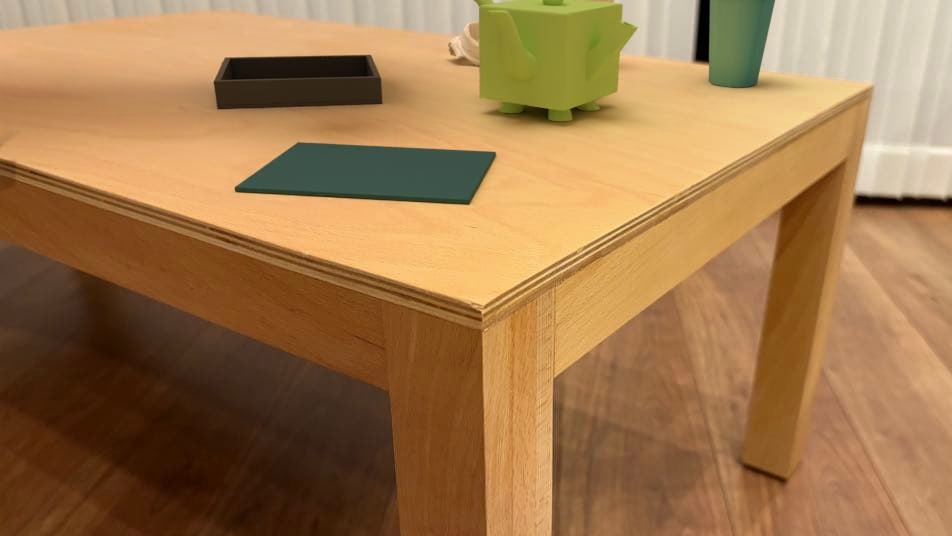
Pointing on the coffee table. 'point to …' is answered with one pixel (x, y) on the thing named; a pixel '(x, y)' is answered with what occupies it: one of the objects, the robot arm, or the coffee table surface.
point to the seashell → (466, 43)
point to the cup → (737, 40)
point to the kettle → (550, 53)
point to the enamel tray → (297, 81)
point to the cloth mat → (373, 173)
